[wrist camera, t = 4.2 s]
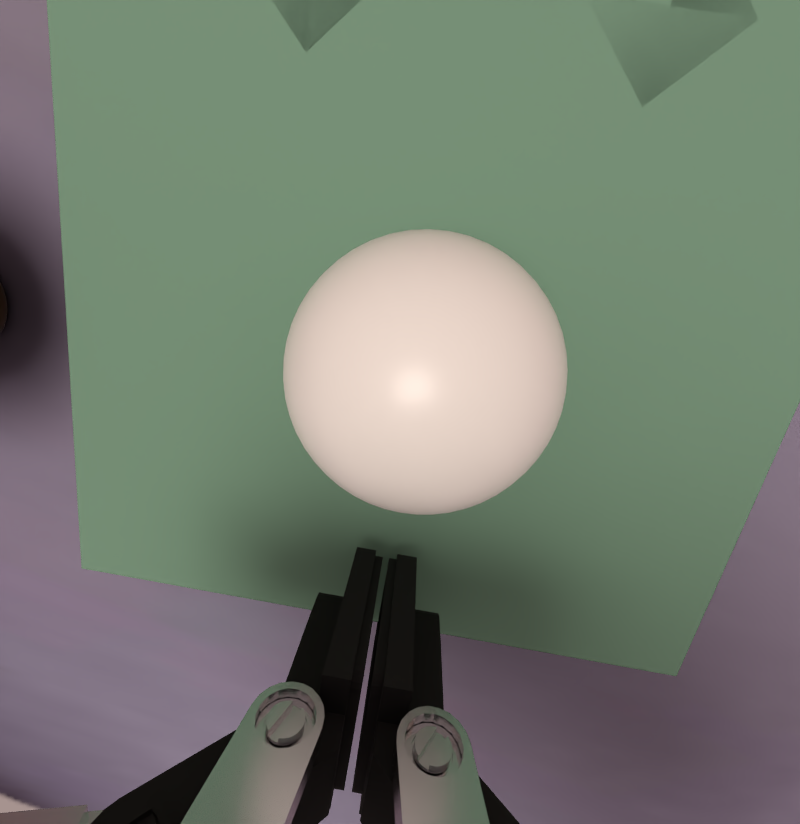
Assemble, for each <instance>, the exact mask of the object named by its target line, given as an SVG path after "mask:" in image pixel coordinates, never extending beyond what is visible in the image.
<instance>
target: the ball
mask: <svg viewBox="0 0 800 824" xmlns="http://www.w3.org/2000/svg"><path fill="white" fill-rule="evenodd" d="M567 373H568V368H567V352H566V347H565V342H564V337H563V332H562V330H561V327H560V324H559V321H558V318H557V315H556V313H555V311H554V309H553V308H552V306H551V304H550V302H549V300H548V298H547V296H546V295H545V294H544V292H543V291H542V289H541V288H540V287H539V285H538V284H537V282H536V281H535V280H534V279H533V278H532V277H531V276H530V275H529V274H528V273H527V272H526V271H525V270H524V269H523V267H522V266H521V265H519V264H518V263H517V262H516V261H514V260H513V259H512V258H511V257H509V256H508V255H507V254H505V253H504V252H502V251H500V250H499V249H497V248H495V247H493V246H492V245H490V244H488V243H486V242H484V241H481V240H479V239H476V238H474V237H471V236H468V235H464V234H460V233H456V232H452V231H445V230H434V229H420V230H407V231H402V232H396V233H391V234H388V235H385V236H382V237H379V238H376V239H373V240H370V241H368V242H366V243H364V244H362V245H360V246H358V247H356V248H354V249H353V250H351V251H350V252H348V253H347V254H346V255H344V256H343V257H341V258H340V259H338V260H337V261H336V262H335V263H334V264H333V265H332V266H331V267H329V268H328V269H327V270H326V271H325V272H324V273H323V274H322V275H321V276H320V277H319V279H318V280H317V281H316V282H315V283H314V285H313V286H312V287H311V288H310V289H309V291H308V293H307V294H306V296H305V297H304V299H303V301H302V302H301V304H300V306H299V308H298V310H297V312H296V314H295V317H294V319H293V321H292V323H291V327H290V330H289V334H288V337H287V341H286V347H285V353H284V363H283V384H284V392H285V400H286V404H287V408H288V412H289V416H290V419H291V421H292V424H293V426H294V429H295V432H296V434H297V435H298V437H299V439H300V441H301V443H302V445H303V447H304V448H305V450H306V451H307V452H308V454H309V455H310V457H311V458H312V459H313V461H314V462H315V463H316V464H317V465H318V466H319V467H320V469H321V470H322V471H323V472H324V473H325V474H326V475H327V476H328V477H329V478H330V479H332V480H333V481H334V482H335V483H336V484H337V485H338V486H340V487H341V488H343V489H344V490H346V491H347V492H349V493H350V494H352V495H353V496H355V497H357V498H359V499H361V500H363V501H365V502H367V503H369V504H372V505H375V506H377V507H380V508H383V509H386V510H391V511H395V512H399V513H407V514H415V515H434V514H442V513H450V512H454V511H459V510H463V509H466V508H469V507H472V506H475V505H477V504H480V503H482V502H484V501H486V500H488V499H490V498H492V497H494V496H496V495H498V494H499V493H501V492H502V491H504V490H505V489H507V488H508V487H509V486H511V485H512V484H513V483H514V482H515V481H517V480H518V479H519V478H520V477H521V476H522V475H523V474H525V473H526V472H527V471H528V469H529V468H530V467H531V466H532V465H533V464H534V463H535V462H536V460H537V459H538V458H539V457H540V455H541V454H542V452H543V451H544V449H545V448H546V446H547V445H548V443H549V441H550V439H551V437H552V435H553V433H554V431H555V429H556V427H557V424H558V421H559V419H560V416H561V413H562V409H563V405H564V400H565V395H566V386H567Z"/></svg>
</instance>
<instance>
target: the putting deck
mask: <svg viewBox="0 0 800 824" xmlns="http://www.w3.org/2000/svg"><path fill="white" fill-rule="evenodd" d="M47 11H48V27H49V43H50V60H51V76H52V92H53V109H54V125H55V141H56V157H57V174H58V190H59V206H60V223H61V239H62V255H63V271H64V288H65V304H66V320H67V337H68V353H69V369H70V386H71V402H72V418H73V434H74V451H75V467H76V483H77V500H78V516H79V532H80V549H81V565H82V568H83V569H89V570H94V571H100V572H105V573H111V574H116V575H122V576H127V577H133V578H138V579H144V580H149V581H155V582H160V583H166V584H171V585H177V586H182V587H188V588H193V589H199V590H204V591H210V592H215V593H221V594H226V595H232V596H237V597H243V598H248V599H254V600H259V601H265V602H270V603H276V604H281V605H287V606H292V607H298V608H303V609H309V610H312V608H313V606H314V603H315V600H316V597H317V595H318V593H319V592H321V593H326V594H332V595H338V596H343V597H344V593H345V589H346V586H347V582H348V578H349V575H350V571H351V567H352V564H353V560H354V556H355V553H356V549H357V547H361V548H367V549H372V550H376V556H380V557H383V560H382V566H381V572H380V578H379V584H378V590H377V597H376V603H375V609H374V615H373V621H375V622H378V618H379V612H380V606H381V601H382V595H383V590H384V584H385V578H386V573H387V567H388V561H389V558H392V559H397V554H401V555H407V556H412V557H417V573H416V604H415V609H417V610H422V611H428V612H434V613H438V614H439V619H440V633H441V634H446V635H452V636H457V637H463V638H468V639H474V640H479V641H485V642H490V643H496V644H501V645H507V646H512V647H518V648H523V649H529V650H534V651H540V652H545V653H551V654H556V655H562V656H567V657H573V658H578V659H584V660H589V661H595V662H600V663H606V664H611V665H617V666H622V667H628V668H633V669H639V670H644V671H650V672H655V673H661V674H666V675H672V676H677V674H678V671H679V669H680V667H681V665H682V662H683V660H684V658H685V656H686V654H687V651H688V649H689V647H690V645H691V642H692V640H693V638H694V636H695V633H696V631H697V629H698V627H699V625H700V622H701V620H702V618H703V616H704V613H705V611H706V609H707V607H708V605H709V602H710V600H711V598H712V596H713V593H714V591H715V589H716V587H717V584H718V582H719V580H720V578H721V576H722V573H723V571H724V569H725V567H726V564H727V562H728V560H729V558H730V556H731V553H732V551H733V549H734V547H735V544H736V542H737V540H738V538H739V535H740V533H741V531H742V529H743V527H744V524H745V522H746V520H747V518H748V515H749V513H750V511H751V509H752V506H753V504H754V502H755V500H756V498H757V495H758V493H759V491H760V489H761V486H762V484H763V482H764V480H765V478H766V475H767V473H768V471H769V469H770V466H771V464H772V462H773V460H774V457H775V455H776V453H777V451H778V449H779V446H780V444H781V442H782V440H783V437H784V435H785V433H786V431H787V428H788V426H789V424H790V422H791V420H792V417H793V415H794V413H795V411H796V408H797V406H798V404H799V402H800V0H47ZM420 229H434V230H445V231H452V232H456V233H460V234H464V235H468V236H471V237H474V238H476V239H479V240H481V241H484V242H486V243H488V244H490V245H492V246H493V247H495V248H497V249H499V250H500V251H502V252H504V253H505V254H507V255H508V256H509V257H511V258H512V259H513V260H514V261H516V262H517V263H518V264H519V265H521V266H522V267H523V269H524V270H525V271H526V272H527V273H528V274H529V275H530V276H531V277H532V278H533V279H534V280H535V281H536V282H537V284H538V285H539V287H540V288H541V289H542V291H543V292H544V294H545V295H546V296H547V298H548V300H549V302H550V304H551V306H552V308H553V309H554V311H555V313H556V315H557V318H558V321H559V324H560V327H561V330H562V332H563V337H564V342H565V347H566V352H567V368H568V373H567V386H566V395H565V400H564V405H563V409H562V413H561V416H560V419H559V421H558V424H557V427H556V429H555V431H554V433H553V435H552V437H551V439H550V441H549V443H548V445H547V446H546V448H545V449H544V451H543V452H542V454H541V455H540V457H539V458H538V459H537V460H536V462H535V463H534V464H533V465H532V466H531V467H530V468H529V469H528V471H527V472H526V473H525V474H523V475H522V476H521V477H520V478H519V479H518V480H517V481H515V482H514V483H513V484H512V485H511V486H509V487H508V488H507V489H505V490H504V491H502V492H501V493H499V494H498V495H496V496H494V497H492V498H490V499H488V500H486V501H484V502H482V503H480V504H477V505H475V506H472V507H469V508H466V509H463V510H459V511H454V512H450V513H442V514H434V515H415V514H407V513H399V512H395V511H391V510H386V509H383V508H380V507H377V506H375V505H372V504H369V503H367V502H365V501H363V500H361V499H359V498H357V497H355V496H353V495H352V494H350V493H349V492H347V491H346V490H344V489H343V488H341V487H340V486H338V485H337V484H336V483H335V482H334V481H333V480H332V479H330V478H329V477H328V476H327V475H326V474H325V473H324V472H323V471H322V470H321V469H320V467H319V466H318V465H317V464H316V463H315V462H314V461H313V459H312V458H311V457H310V455H309V454H308V452H307V451H306V450H305V448H304V447H303V445H302V443H301V441H300V439H299V437H298V435H297V434H296V432H295V429H294V426H293V424H292V421H291V419H290V416H289V412H288V408H287V404H286V400H285V392H284V384H283V363H284V353H285V347H286V341H287V337H288V334H289V330H290V327H291V323H292V321H293V319H294V317H295V314H296V312H297V310H298V308H299V306H300V304H301V302H302V301H303V299H304V297H305V296H306V294H307V293H308V291H309V289H310V288H311V287H312V286H313V285H314V283H315V282H316V281H317V280H318V279H319V277H320V276H321V275H322V274H323V273H324V272H325V271H326V270H327V269H328V268H329V267H331V266H332V265H333V264H334V263H335V262H336V261H337V260H338V259H340V258H341V257H343V256H344V255H346V254H347V253H348V252H350V251H351V250H353V249H354V248H356V247H358V246H360V245H362V244H364V243H366V242H368V241H370V240H373V239H376V238H379V237H382V236H385V235H388V234H391V233H396V232H402V231H407V230H420Z"/></svg>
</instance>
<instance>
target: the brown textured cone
mask: <svg viewBox="0 0 800 824" xmlns="http://www.w3.org/2000/svg"><path fill="white" fill-rule="evenodd" d="M6 319H7V300H6V295H5V292H4V289H3V287H2V284H1V282H0V333H1V332H2V330H3V328H4V326H5V323H6Z"/></svg>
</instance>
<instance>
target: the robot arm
mask: <svg viewBox="0 0 800 824" xmlns="http://www.w3.org/2000/svg"><path fill="white" fill-rule="evenodd" d="M382 560H383V557H380V556H376V550H372V549H367V548H361V547H357V549H356V553H355V556H354V560H353V564H352V567H351V571H350V575H349V578H348V582H347V586H346V589H345V593H344V597H343V596H338V595H332V594H326V593H321V592H319V593H318V595H317V597H316V600H315V603H314V606H313V608H312V611H311V614H310V617H309V619H308V622H307V625H306V628H305V630H304V633H303V636H302V639H301V641H300V644H299V647H298V650H297V652H296V655H295V658H294V661H293V664H292V666H291V669H290V672H289V675H288V677H287V680H286V682H283V683H279V684H276V685H274V686H271V687H269V688H268V689H266V690H265V691H264V692H262V693H261V694H260V695H259V696H258V697H257V698H256V700H255V701H254V702H253V703H252V705H251V706H250V708H249V710H248V711H247V713H246V715H245V717H244V718H243V720H242V722H241V723H240V725H239V727H238V728H237V730H235V731H233V732H232V733H230V734H228V735H227V736H225V737H223V738H221V739H220V740H218V741H216V742H215V743H213V744H211V745H210V746H208V747H206V748H204V749H203V750H201V751H199V752H198V753H196V754H194V755H193V756H191V757H189V758H187V759H186V760H184V761H182V762H181V763H179V764H177V765H175V766H174V767H172V768H170V769H169V770H167V771H165V772H164V773H162V774H160V775H158V776H157V777H155V778H153V779H152V780H150V781H148V782H147V783H145V784H143V785H141V786H140V787H138V788H136V789H135V790H133V791H131V792H129V793H128V794H126V795H124V796H123V797H121V798H119V799H118V800H117V801H115V802H114V803H113V804H111V805H110V806H108V807H107V808H106V809H104V810H99V811H89V812H88V806H87V805H79V806H69V807H59V808H49V809H38V810H28V811H18V812H8V813H0V824H318V823H319V822H320V821H322V820H323V819H324V818H325V817H326V816H327V815H328V813H329V808H330V807H331V801H332V796H333V791H334V789H339V790H344V787H345V781H346V775H347V769H348V763H349V758H350V752H351V746H352V740H353V734H354V729H355V723H356V717H357V711H358V705H359V700H360V694H361V688H362V682H363V676H364V670H365V664H366V658H367V652H368V646H369V639H370V633H371V627H372V621H373V615H374V609H375V603H376V597H377V590H378V584H379V578H380V572H381V566H382ZM416 573H417V557H412V556H407V555H401V554H397V559H392V558H389V561H388V567H387V573H386V578H385V584H384V590H383V595H382V601H381V606H380V612H379V618H378V623H377V629H376V635H375V641H374V647H373V653H372V660H371V667H370V674H369V680H368V687H367V694H366V701H365V707H364V714H363V721H362V728H361V734H360V741H359V748H358V755H357V761H356V768H355V775H354V782H353V789H352V792H356V793H361V794H362V795H361V803H360V811H359V814H361V819H360V821H361V823H362V824H519V822H518V821H517V820H516V819H515V818H514V817H513V815H512V814H511V813H510V812H509V811H508V810H507V808H506V807H505V806H504V805H503V804H502V803H501V801H500V800H499V799H498V798H497V797H496V796H495V794H494V793H493V792H492V791H491V790H490V789H489V787H488V786H487V785H486V784H485V783H484V782H483V780H482V779H481V778H480V777H479V776H478V772H477V768H476V764H475V760H474V756H473V751H472V747H471V743H470V741H469V738H468V735H467V733H466V731H465V729H464V728H463V727H462V725H461V724H460V722H459V721H458V720H457V719H456V718H454V717H453V716H452V715H451V714H450V713H448V712H446V711H444V709H443V686H442V663H441V641H440V619H439V614H438V613H434V612H428V611H422V610H417V609H415V604H416Z"/></svg>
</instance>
